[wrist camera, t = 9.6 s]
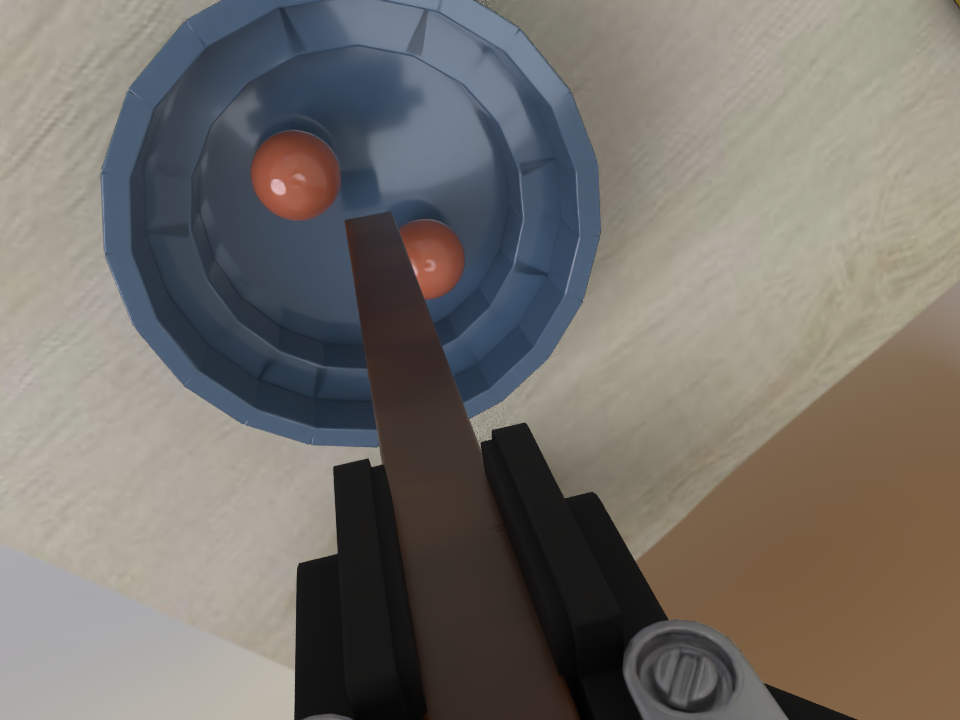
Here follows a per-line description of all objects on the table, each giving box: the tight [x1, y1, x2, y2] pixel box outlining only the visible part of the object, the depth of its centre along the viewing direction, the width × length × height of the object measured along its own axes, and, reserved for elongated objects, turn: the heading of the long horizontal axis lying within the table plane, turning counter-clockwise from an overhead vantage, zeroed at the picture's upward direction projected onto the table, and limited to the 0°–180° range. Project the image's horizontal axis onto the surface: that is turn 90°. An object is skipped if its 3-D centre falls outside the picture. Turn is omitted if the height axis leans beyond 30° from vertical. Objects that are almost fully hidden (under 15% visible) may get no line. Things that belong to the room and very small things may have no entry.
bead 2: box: [398, 218, 465, 300], centre depth 27 cm, size 3×3×3 cm
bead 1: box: [250, 129, 342, 221], centre depth 24 cm, size 3×3×3 cm
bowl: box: [101, 0, 601, 447], centre depth 25 cm, size 16×16×5 cm
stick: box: [344, 211, 581, 720], centre depth 15 cm, size 2×2×20 cm
